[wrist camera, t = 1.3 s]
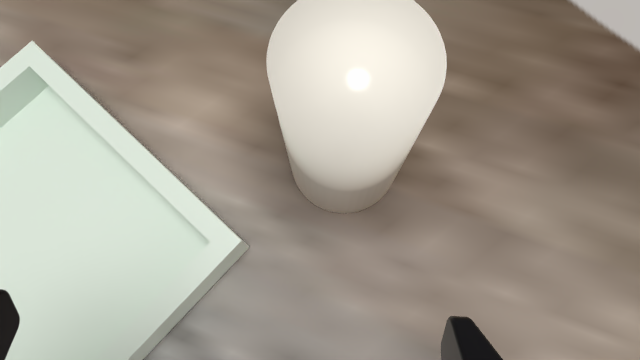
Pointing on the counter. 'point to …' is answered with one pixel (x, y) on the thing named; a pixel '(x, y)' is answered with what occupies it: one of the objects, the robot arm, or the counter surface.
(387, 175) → the canister
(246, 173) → the counter surface
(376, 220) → the counter surface
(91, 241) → the tray
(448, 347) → the robot arm
